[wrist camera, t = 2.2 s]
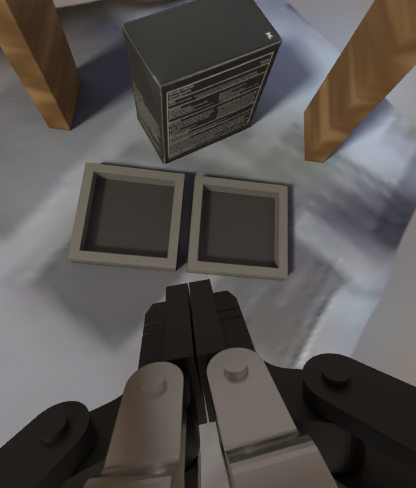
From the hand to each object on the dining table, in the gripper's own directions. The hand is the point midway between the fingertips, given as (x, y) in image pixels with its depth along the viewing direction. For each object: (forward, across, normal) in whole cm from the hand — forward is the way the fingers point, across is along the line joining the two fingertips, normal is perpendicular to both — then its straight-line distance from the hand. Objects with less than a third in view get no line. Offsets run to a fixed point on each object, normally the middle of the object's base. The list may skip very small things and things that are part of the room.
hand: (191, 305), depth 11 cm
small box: (+26, -3, -5) cm, 27 cm away
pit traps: (+19, 0, +3) cm, 19 cm away
